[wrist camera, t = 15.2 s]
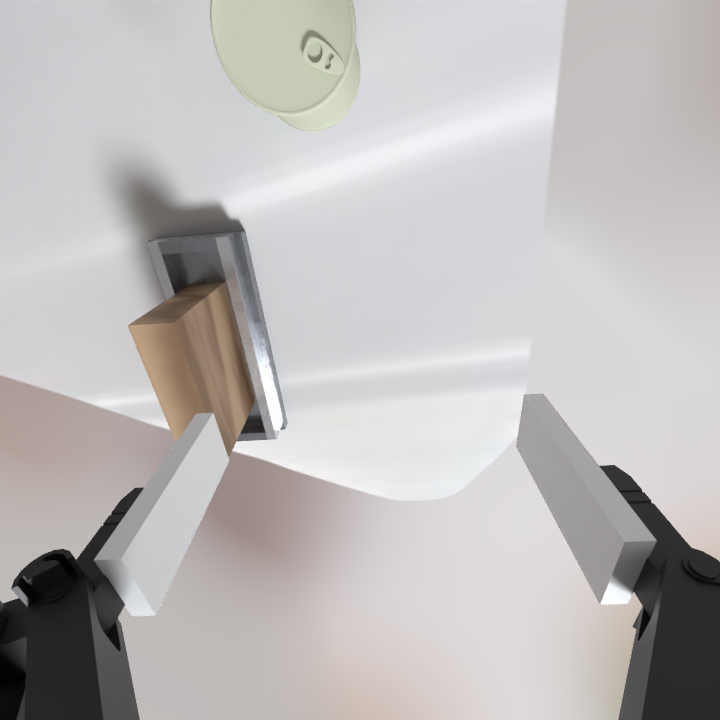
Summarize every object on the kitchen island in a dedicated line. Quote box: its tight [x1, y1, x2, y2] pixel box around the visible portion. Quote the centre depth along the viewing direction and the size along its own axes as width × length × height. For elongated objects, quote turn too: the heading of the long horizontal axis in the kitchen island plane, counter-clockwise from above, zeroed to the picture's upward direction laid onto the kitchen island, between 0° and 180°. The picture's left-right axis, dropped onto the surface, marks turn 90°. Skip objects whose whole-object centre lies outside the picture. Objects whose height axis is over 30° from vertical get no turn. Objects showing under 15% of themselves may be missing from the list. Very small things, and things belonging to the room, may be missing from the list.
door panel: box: [128, 282, 256, 457], centre depth 39 cm, size 5×16×12 cm, turn 5°
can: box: [210, 0, 360, 132], centre depth 28 cm, size 9×9×12 cm
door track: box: [146, 231, 287, 441], centre depth 44 cm, size 10×26×4 cm, turn 5°
